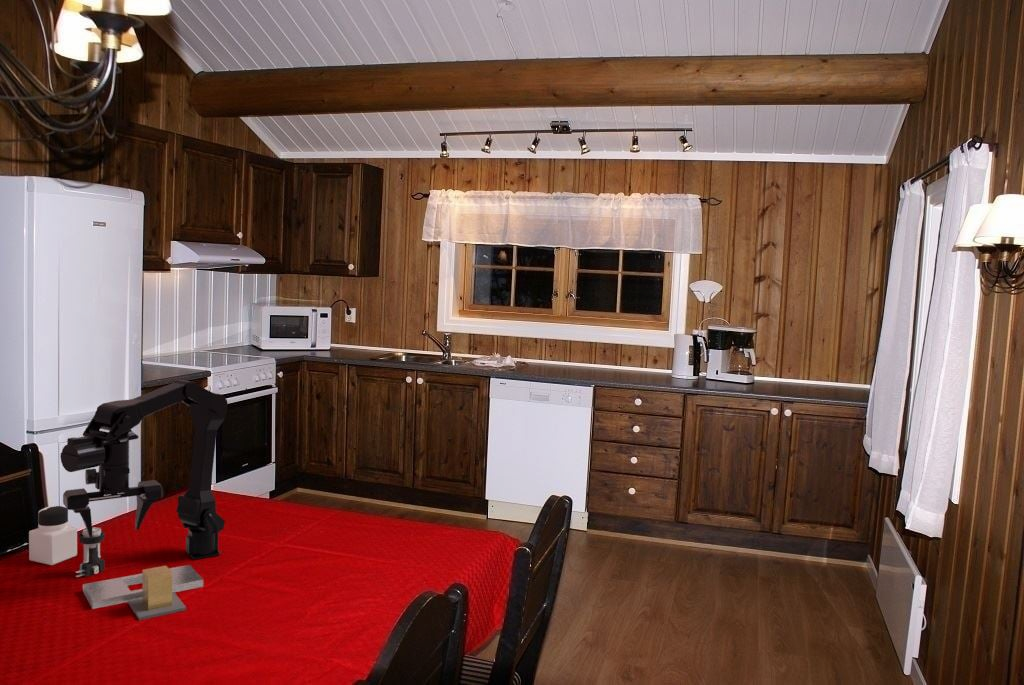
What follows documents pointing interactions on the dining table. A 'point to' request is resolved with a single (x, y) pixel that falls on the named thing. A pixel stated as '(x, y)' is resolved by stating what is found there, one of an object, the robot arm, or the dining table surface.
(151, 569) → the brass block
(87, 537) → the push button
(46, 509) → the medicine bottle
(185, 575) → the rail
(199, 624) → the dining table surface
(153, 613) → the pad
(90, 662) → the dining table surface
